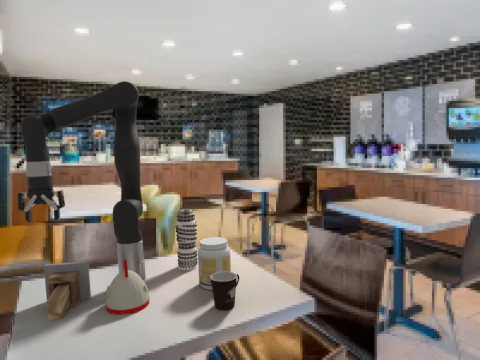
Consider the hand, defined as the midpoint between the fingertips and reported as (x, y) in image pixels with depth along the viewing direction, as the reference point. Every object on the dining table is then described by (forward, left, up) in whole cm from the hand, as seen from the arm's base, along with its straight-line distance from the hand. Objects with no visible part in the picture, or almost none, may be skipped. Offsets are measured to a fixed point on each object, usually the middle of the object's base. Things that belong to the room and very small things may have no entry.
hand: (43, 221), depth 124 cm
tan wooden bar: (-8, +12, -27) cm, 30 cm away
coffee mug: (-62, +19, -28) cm, 70 cm away
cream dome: (-29, +12, -28) cm, 42 cm away
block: (-8, +7, -28) cm, 29 cm away
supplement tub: (-59, +1, -28) cm, 65 cm away
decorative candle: (-49, -21, -28) cm, 60 cm away
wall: (-8, +4, -28) cm, 29 cm away
